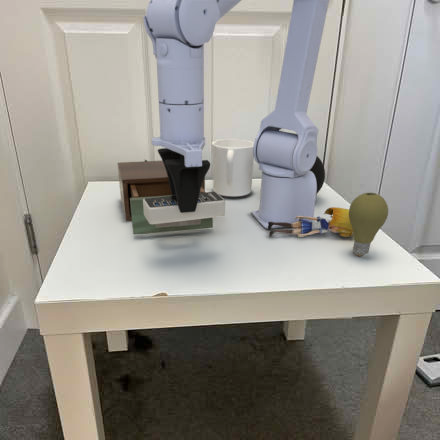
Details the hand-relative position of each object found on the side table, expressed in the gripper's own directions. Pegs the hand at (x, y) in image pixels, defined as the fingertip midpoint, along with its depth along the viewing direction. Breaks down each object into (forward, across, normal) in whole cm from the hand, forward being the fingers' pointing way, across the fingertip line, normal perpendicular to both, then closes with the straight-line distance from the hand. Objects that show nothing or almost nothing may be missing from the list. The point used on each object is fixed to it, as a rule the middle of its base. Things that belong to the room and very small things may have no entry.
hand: (183, 205), depth 64 cm
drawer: (+8, -12, 0) cm, 14 cm away
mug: (+9, -28, +16) cm, 34 cm away
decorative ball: (+9, -22, +28) cm, 37 cm away
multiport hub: (+2, 0, 0) cm, 2 cm away
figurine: (+9, -4, +23) cm, 25 cm away
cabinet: (+9, -23, 0) cm, 25 cm away
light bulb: (+9, +5, +27) cm, 29 cm away
